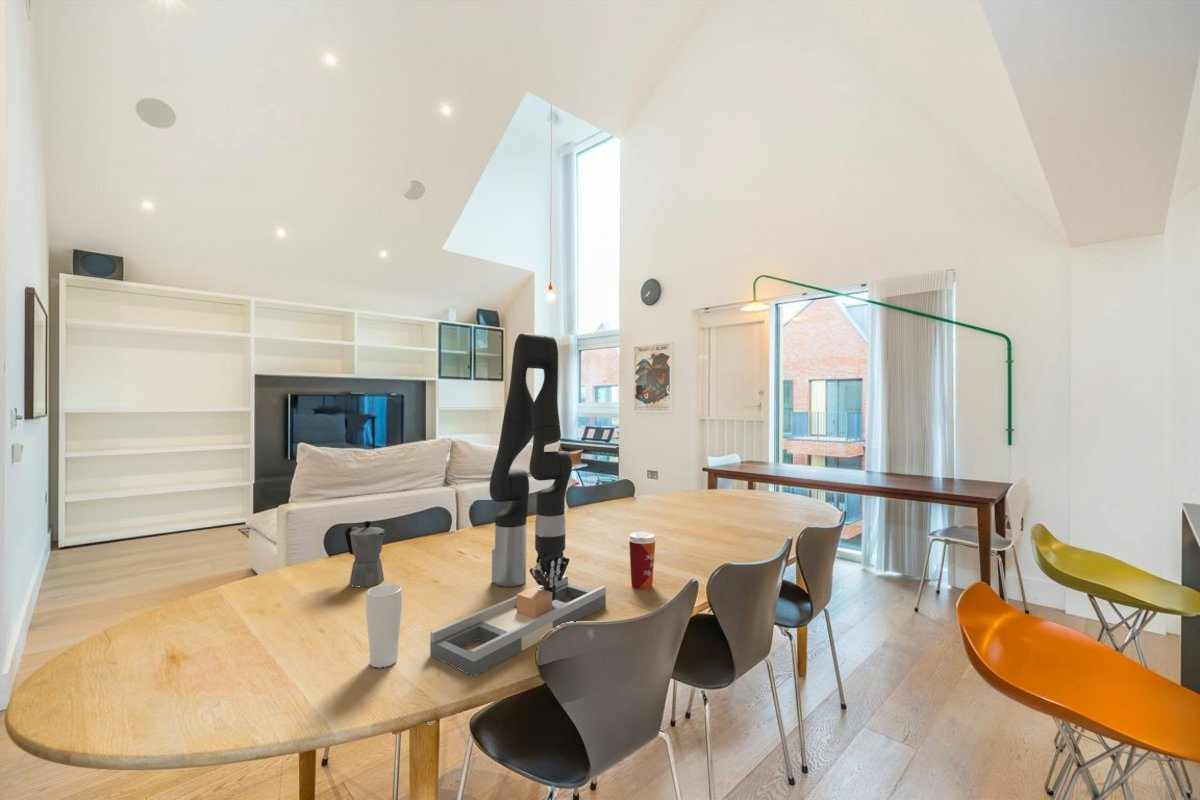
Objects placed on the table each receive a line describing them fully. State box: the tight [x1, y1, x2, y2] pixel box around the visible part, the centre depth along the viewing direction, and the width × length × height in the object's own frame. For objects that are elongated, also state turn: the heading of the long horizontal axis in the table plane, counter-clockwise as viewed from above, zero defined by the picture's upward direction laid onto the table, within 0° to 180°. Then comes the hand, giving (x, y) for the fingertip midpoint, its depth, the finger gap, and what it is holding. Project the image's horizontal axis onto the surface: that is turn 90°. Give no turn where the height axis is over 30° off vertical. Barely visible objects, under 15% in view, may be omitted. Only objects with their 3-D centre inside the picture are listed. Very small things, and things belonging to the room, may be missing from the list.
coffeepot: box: [344, 520, 386, 588], centre depth 152 cm, size 15×9×18 cm, turn 67°
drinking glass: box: [365, 583, 403, 669], centre depth 106 cm, size 7×7×15 cm
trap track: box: [429, 574, 607, 677], centre depth 122 cm, size 44×14×5 cm, turn 144°
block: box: [516, 586, 552, 619], centre depth 124 cm, size 6×6×4 cm
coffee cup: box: [627, 531, 657, 591], centre depth 150 cm, size 8×8×15 cm
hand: (549, 600), depth 128 cm, fingers closed
